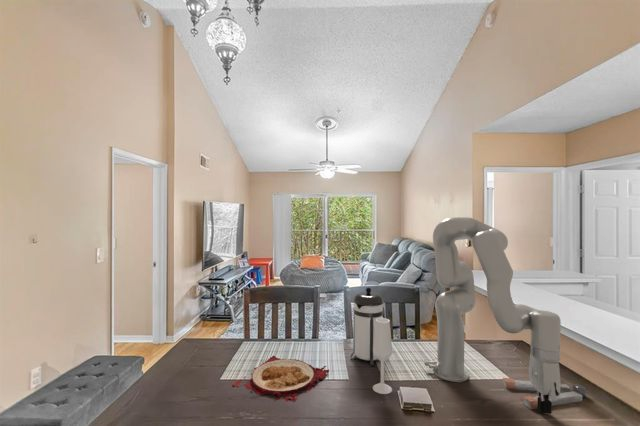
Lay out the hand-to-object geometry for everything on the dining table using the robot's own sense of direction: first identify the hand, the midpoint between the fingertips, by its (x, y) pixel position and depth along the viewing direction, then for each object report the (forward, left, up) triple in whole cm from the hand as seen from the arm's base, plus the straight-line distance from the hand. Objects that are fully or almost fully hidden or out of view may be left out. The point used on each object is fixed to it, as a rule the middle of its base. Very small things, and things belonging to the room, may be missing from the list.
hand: (544, 411), depth 100 cm
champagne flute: (-49, +6, -1) cm, 49 cm away
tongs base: (+7, +14, -1) cm, 15 cm away
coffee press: (-54, +30, -1) cm, 62 cm away
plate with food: (-85, +6, -2) cm, 85 cm away
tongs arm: (+6, +7, -1) cm, 9 cm away
